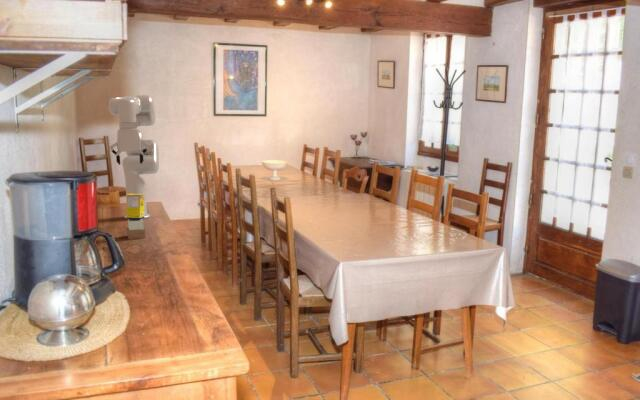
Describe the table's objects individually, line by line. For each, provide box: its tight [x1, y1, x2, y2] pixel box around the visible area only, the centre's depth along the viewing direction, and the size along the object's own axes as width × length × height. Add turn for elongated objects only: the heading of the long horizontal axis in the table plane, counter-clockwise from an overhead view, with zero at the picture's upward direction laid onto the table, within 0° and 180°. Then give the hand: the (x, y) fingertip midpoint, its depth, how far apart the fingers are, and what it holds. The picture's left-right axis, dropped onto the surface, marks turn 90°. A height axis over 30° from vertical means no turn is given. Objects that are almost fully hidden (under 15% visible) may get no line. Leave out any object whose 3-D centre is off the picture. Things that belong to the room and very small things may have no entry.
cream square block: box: [127, 219, 145, 230], centre depth 255 cm, size 6×6×4 cm
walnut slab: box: [126, 226, 146, 240], centre depth 256 cm, size 7×7×4 cm
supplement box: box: [126, 193, 144, 220], centre depth 254 cm, size 6×6×11 cm
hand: (130, 163), depth 268 cm, fingers open, 9 cm apart
